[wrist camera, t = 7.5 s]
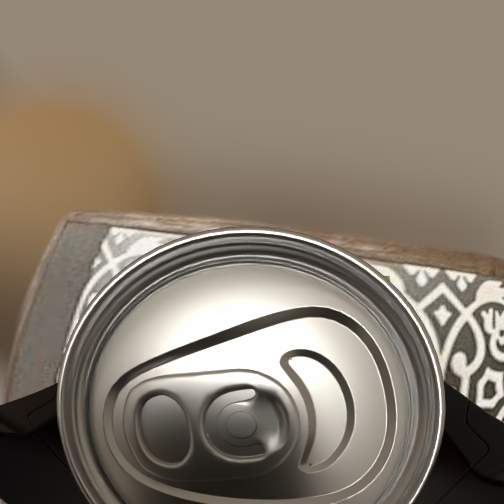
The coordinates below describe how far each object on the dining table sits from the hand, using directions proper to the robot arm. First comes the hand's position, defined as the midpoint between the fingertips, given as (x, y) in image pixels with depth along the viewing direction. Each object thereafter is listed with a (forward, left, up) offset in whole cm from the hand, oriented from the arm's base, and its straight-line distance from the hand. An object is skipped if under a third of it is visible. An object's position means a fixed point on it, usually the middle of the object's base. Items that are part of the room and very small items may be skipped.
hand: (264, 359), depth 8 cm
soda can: (-1, +1, -7) cm, 7 cm away
